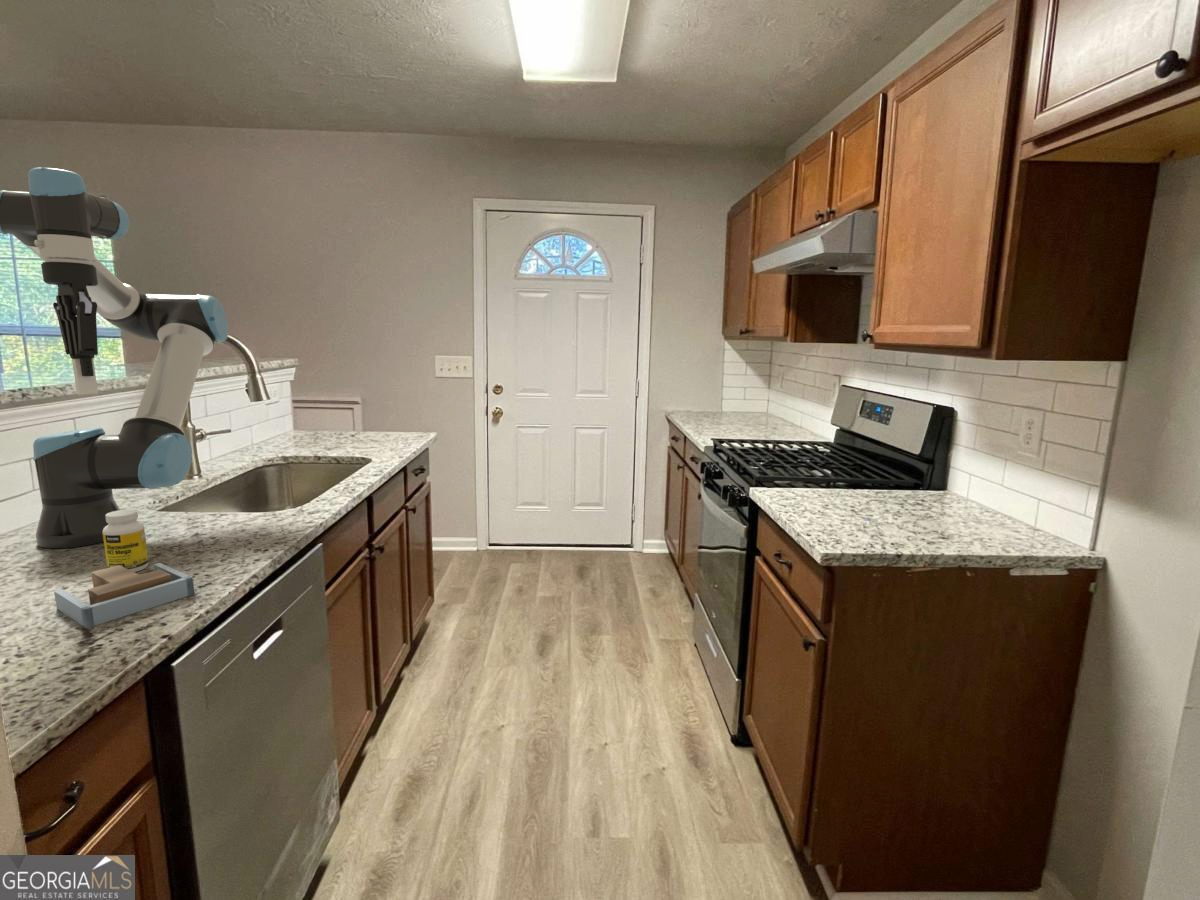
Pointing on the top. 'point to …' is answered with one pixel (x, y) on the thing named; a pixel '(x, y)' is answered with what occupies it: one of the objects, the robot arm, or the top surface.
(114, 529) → the pill bottle
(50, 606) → the top surface
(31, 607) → the top surface
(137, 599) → the dock
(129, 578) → the t block
